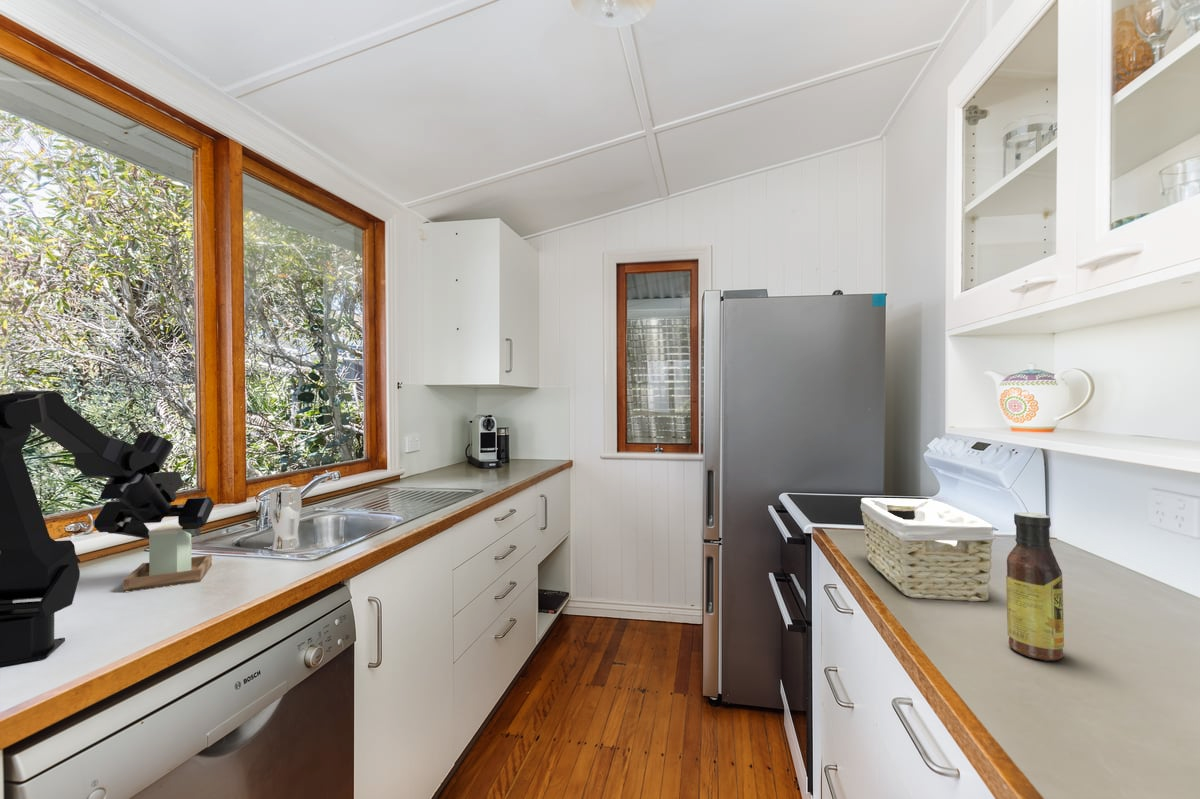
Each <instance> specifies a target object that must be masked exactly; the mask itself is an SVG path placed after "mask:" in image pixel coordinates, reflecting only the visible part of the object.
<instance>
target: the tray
mask: <svg viewBox="0 0 1200 799" xmlns="http://www.w3.org/2000/svg"><path fill="white" fill-rule="evenodd" d="M212 556H213V555H212V554H210V555H209V554H207V555H201V556H200V555H199V556H191V570H189V571H182V572H174V573H166V574H159V575H151V576H149V562H143V563H141V564H140V565H139V566H138V567H136V568H135V570H133V571H132V572H131V573H130V574H129V575H128V576H126V577H125V578H123V582H122V583H123V588H122V589H123V590H122V591H123V593H127V592H126V591H130V592H134V591H133V590H137V591H141V590H140V589H144V590H150V589H149V588H151V589H156V588H155V587H158V588H164V587H163V586H166V587H171V586H170V585H173V586H178V584H180V585H185V584H186V583H187V584H192V583H199V582H201V581H203V579H204V577H205V576H206V574H207V573H208V571H209V570H210V568H211V567H212V564H213V563H212V560H213V559H212Z"/></svg>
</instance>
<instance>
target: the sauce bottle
mask: <svg viewBox="0 0 1200 799" xmlns="http://www.w3.org/2000/svg"><path fill="white" fill-rule="evenodd" d="M1013 519H1014V520H1013V523H1014V525H1015V532H1016V533H1015V535H1016V537H1015V539H1014V540H1015V542H1016V544H1015V546H1014V547H1013V548H1012V549H1011V551H1010V552H1009V554H1008V555H1007V558H1006V574H1007V575H1006V576H1005V579H1006V580H1005V581H1006V619H1007V620H1006V621H1007V623H1006V624H1007V626H1006V627H1007V636H1008V637H1009V638H1008V643H1009V647H1010V648H1011V649H1012V650H1014V651H1016V652H1017V653H1019V654H1021V655H1024V656H1026V657H1029V658H1033V659H1039V660H1043V661H1058V660H1061V659H1062V658H1063V656H1064V650H1063V649H1064V647H1065V629H1064V628H1065V627H1064V625H1065V624H1064V590H1063V588H1064V587H1063V586H1064V585H1063V582H1064V581H1063V571H1062V570H1061V568H1060V565H1059V563H1058V561H1057V559H1056V556H1055V554H1054V551H1053V549H1052V548H1051V543H1050V542H1051V541H1050V527H1051V526H1052V524H1051V523H1052V522H1051V516H1049V515H1046V514H1041V513H1036V512H1015V513H1014V515H1013Z"/></svg>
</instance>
